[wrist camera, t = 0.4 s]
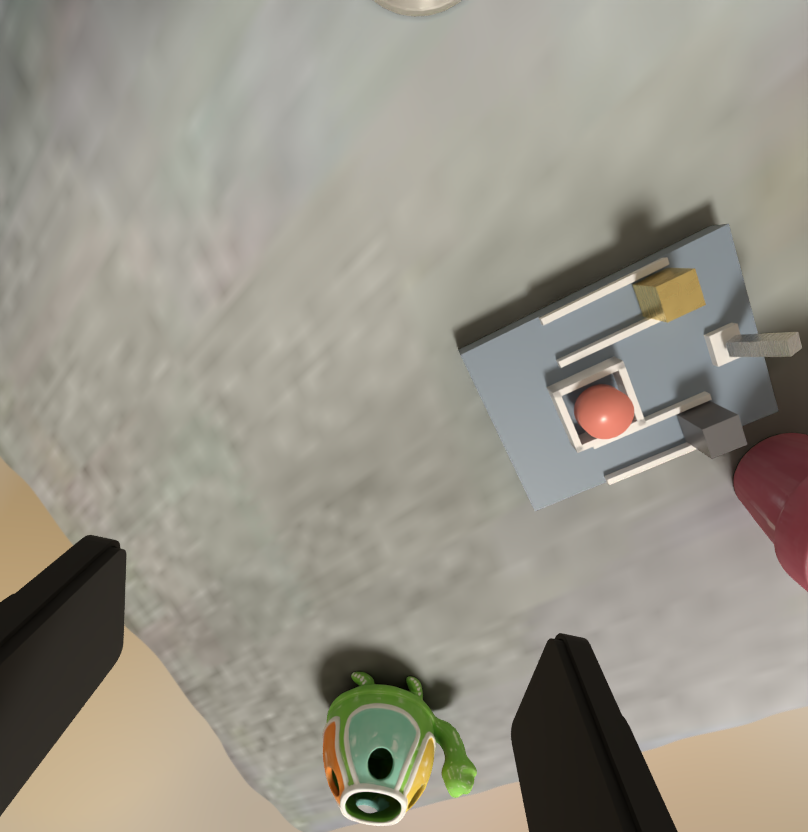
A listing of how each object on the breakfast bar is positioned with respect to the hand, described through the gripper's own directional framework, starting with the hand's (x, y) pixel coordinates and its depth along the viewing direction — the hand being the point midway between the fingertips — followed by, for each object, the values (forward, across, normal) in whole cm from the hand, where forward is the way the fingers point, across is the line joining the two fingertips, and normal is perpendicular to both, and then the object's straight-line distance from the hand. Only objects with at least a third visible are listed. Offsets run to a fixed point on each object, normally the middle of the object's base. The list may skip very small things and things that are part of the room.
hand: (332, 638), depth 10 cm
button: (+31, -19, 0) cm, 36 cm away
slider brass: (+33, -20, -10) cm, 40 cm away
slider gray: (+33, -29, 0) cm, 43 cm away
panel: (+36, -21, -2) cm, 41 cm away
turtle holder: (+36, -10, +46) cm, 59 cm away
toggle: (+32, -28, -7) cm, 43 cm away
